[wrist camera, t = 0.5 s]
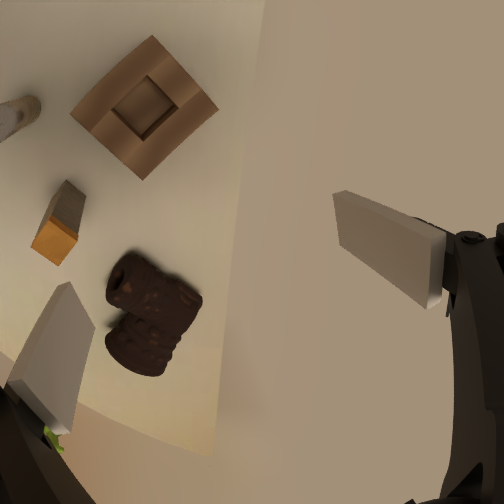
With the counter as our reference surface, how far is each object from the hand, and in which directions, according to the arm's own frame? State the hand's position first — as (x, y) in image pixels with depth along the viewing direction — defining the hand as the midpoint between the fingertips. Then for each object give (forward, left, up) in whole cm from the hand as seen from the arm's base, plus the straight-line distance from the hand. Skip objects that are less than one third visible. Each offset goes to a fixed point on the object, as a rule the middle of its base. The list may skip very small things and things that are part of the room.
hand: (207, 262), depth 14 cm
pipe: (+25, +1, -26) cm, 36 cm away
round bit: (-3, -16, -26) cm, 30 cm away
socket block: (-4, -2, -26) cm, 26 cm away
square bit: (+8, -10, -26) cm, 29 cm away
